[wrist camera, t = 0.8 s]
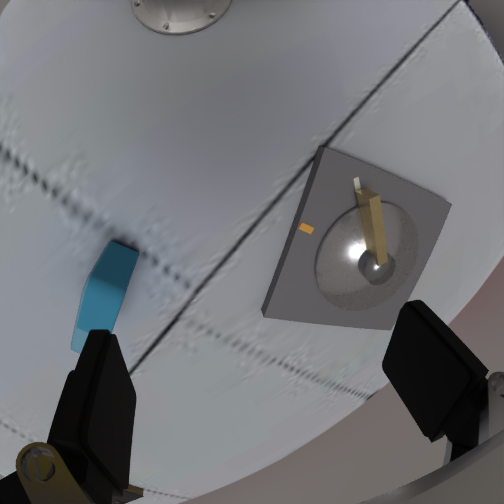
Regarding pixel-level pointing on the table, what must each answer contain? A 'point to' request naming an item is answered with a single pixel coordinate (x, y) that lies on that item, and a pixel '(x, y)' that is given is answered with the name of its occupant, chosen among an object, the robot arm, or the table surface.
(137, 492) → the dark notebook
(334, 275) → the capstan dial
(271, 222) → the table surface
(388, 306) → the dial base
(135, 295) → the table surface
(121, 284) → the data package
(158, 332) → the table surface
